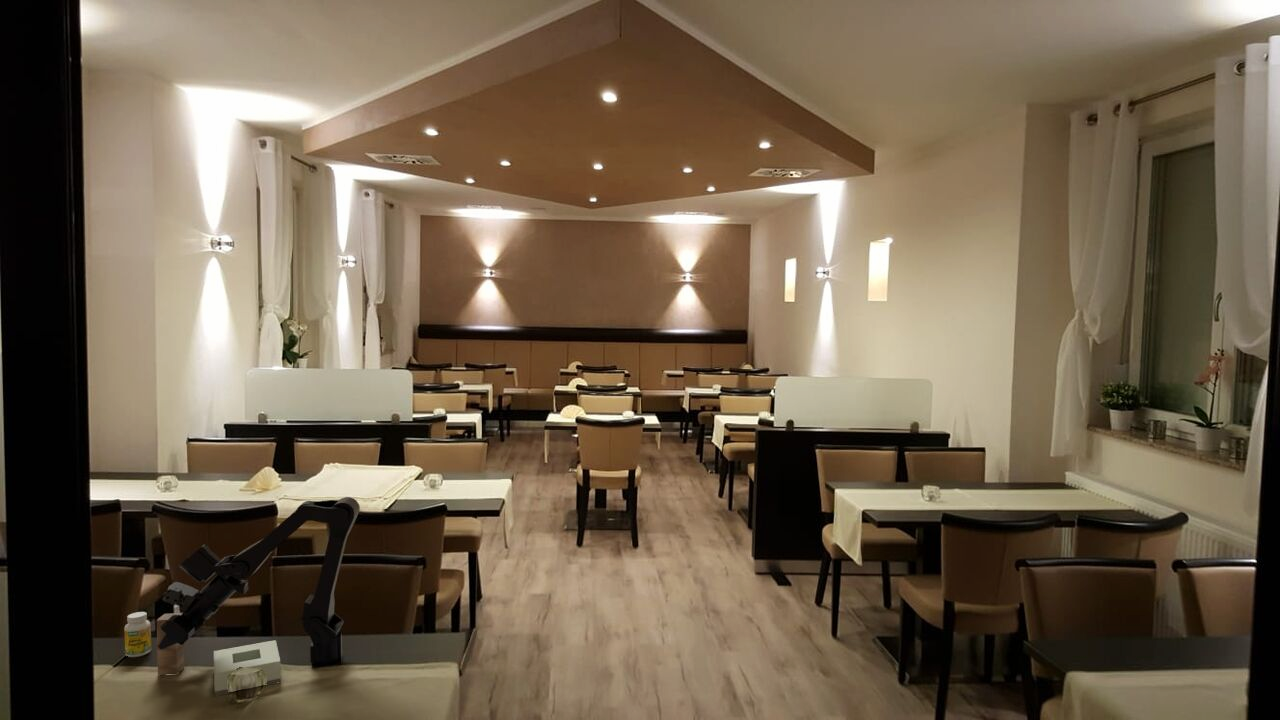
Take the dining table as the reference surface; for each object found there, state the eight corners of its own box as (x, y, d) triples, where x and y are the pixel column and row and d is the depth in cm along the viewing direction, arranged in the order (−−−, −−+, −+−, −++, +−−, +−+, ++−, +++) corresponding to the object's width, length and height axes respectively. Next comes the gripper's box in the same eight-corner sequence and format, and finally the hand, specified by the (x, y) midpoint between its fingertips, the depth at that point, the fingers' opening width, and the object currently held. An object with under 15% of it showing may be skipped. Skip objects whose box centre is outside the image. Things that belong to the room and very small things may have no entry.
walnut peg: (184, 667, 180) (183, 612, 179) (176, 674, 176) (175, 619, 175) (165, 668, 179) (164, 613, 178) (157, 676, 175) (156, 620, 175)
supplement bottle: (151, 646, 191) (150, 609, 190) (151, 654, 186) (150, 615, 186) (125, 651, 188) (124, 613, 188) (124, 659, 184) (123, 620, 183)
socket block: (276, 660, 184) (275, 640, 183) (280, 682, 172) (280, 660, 172) (214, 672, 177) (213, 651, 177) (214, 696, 166) (214, 673, 166)
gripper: (203, 559, 186) (155, 606, 185) (169, 585, 168) (115, 637, 166) (238, 589, 188) (191, 636, 187) (209, 618, 169) (156, 670, 168)
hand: (164, 644), depth 177 cm, fingers closed on walnut peg, 4 cm apart
